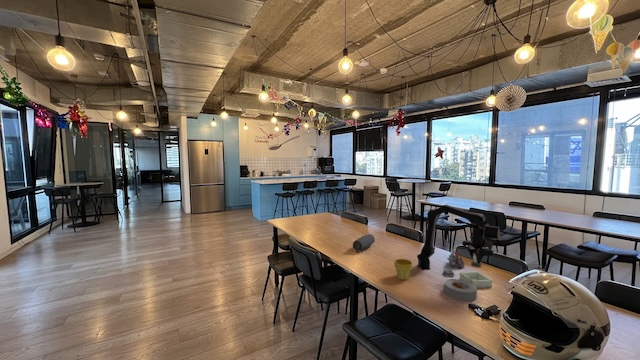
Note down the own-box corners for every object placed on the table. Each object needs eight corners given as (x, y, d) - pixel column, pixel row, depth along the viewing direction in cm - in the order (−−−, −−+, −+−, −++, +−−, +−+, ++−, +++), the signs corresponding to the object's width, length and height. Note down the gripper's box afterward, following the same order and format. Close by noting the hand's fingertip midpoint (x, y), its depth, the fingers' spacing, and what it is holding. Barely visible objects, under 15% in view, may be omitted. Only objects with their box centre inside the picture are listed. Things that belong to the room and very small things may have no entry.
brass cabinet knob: (483, 267, 152) (483, 254, 151) (475, 267, 151) (475, 255, 151) (477, 263, 157) (477, 251, 156) (469, 264, 156) (469, 252, 156)
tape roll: (439, 294, 142) (439, 284, 142) (450, 284, 153) (450, 276, 152) (471, 305, 131) (471, 295, 131) (480, 294, 142) (480, 285, 141)
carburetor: (470, 266, 173) (458, 250, 174) (454, 274, 176) (443, 259, 177) (466, 260, 184) (455, 245, 185) (451, 268, 187) (440, 253, 188)
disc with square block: (446, 277, 162) (446, 274, 162) (440, 272, 168) (440, 269, 168) (456, 276, 163) (456, 273, 163) (450, 272, 169) (450, 269, 169)
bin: (472, 288, 148) (473, 281, 148) (459, 278, 160) (459, 272, 160) (491, 287, 150) (492, 280, 149) (477, 278, 161) (477, 271, 161)
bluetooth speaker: (364, 244, 225) (365, 232, 224) (375, 246, 219) (375, 234, 218) (351, 251, 206) (351, 238, 205) (362, 254, 201) (362, 241, 200)
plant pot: (390, 275, 164) (390, 259, 163) (403, 272, 168) (404, 257, 167) (401, 282, 154) (402, 266, 154) (415, 279, 159) (416, 263, 158)
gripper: (503, 240, 144) (501, 268, 146) (479, 231, 163) (477, 256, 164) (484, 240, 143) (482, 269, 144) (462, 231, 162) (460, 256, 163)
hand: (476, 262), depth 154 cm, fingers closed on brass cabinet knob, 4 cm apart
